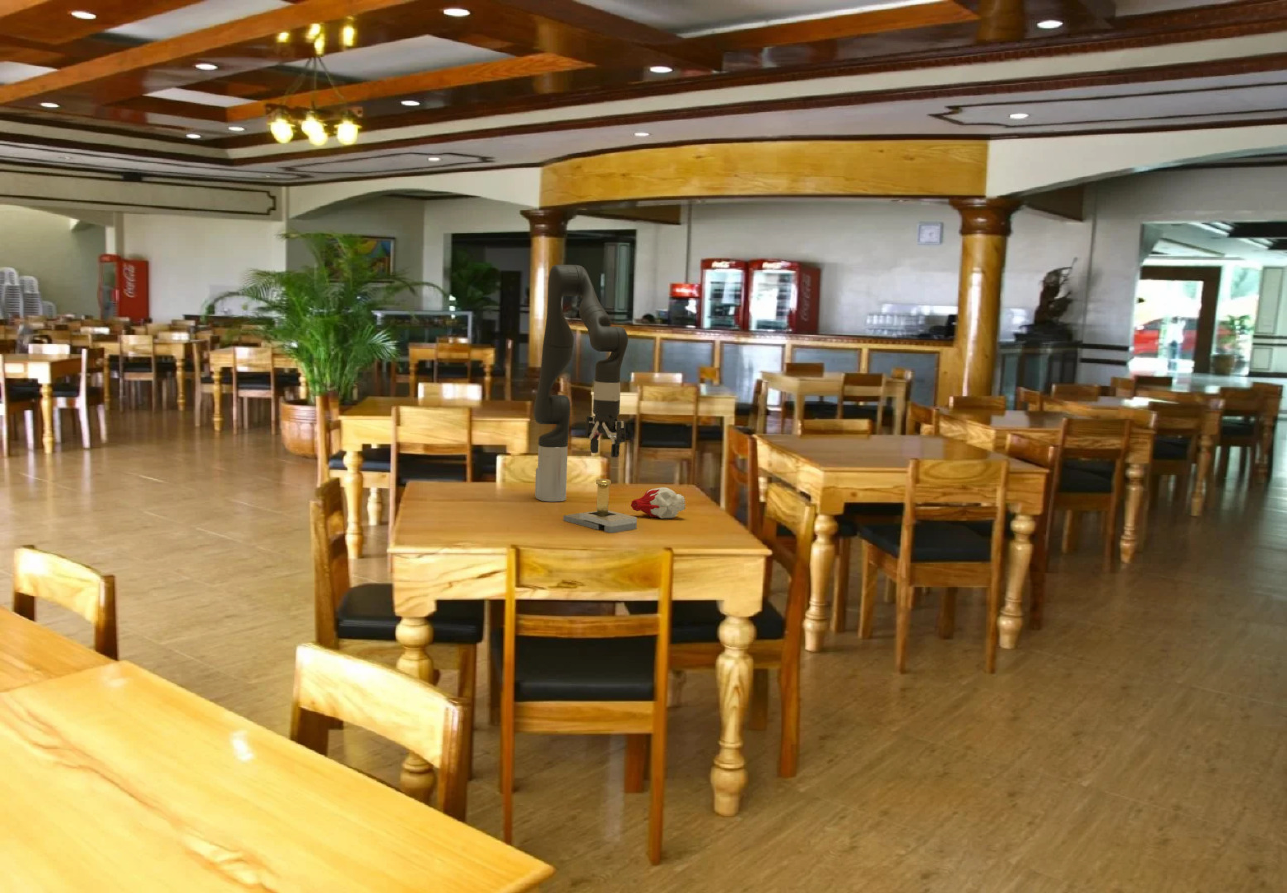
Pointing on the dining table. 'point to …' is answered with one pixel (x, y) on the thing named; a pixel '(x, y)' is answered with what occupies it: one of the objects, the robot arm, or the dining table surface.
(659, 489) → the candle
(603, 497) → the pin
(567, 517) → the grey slotted base plate
